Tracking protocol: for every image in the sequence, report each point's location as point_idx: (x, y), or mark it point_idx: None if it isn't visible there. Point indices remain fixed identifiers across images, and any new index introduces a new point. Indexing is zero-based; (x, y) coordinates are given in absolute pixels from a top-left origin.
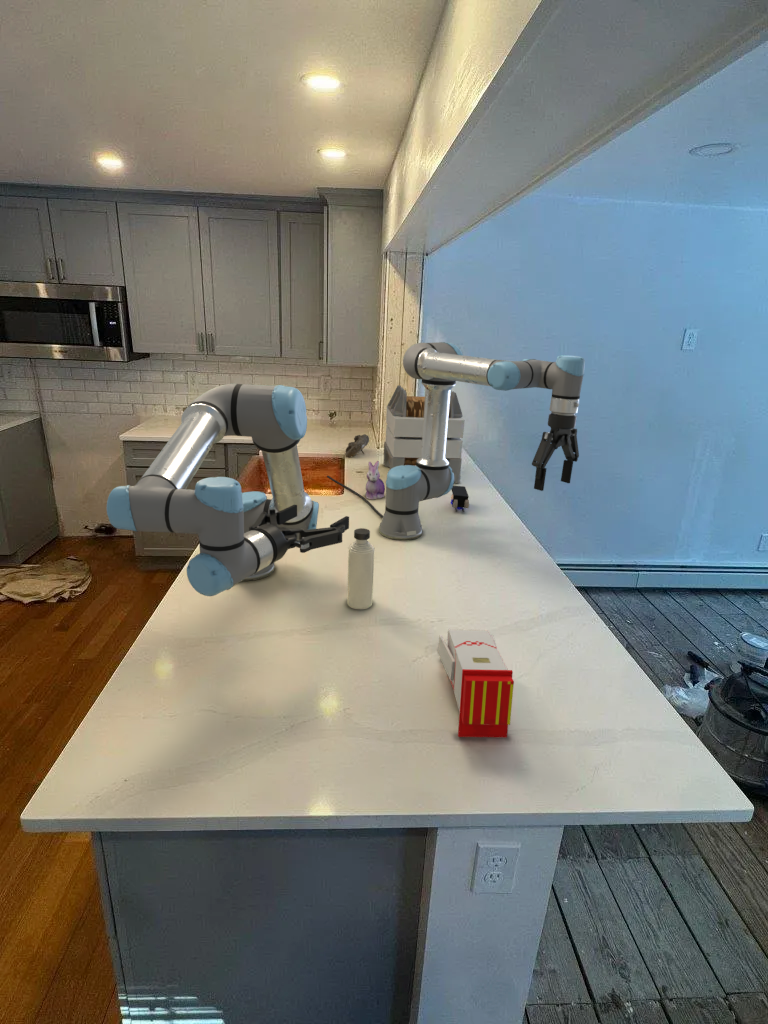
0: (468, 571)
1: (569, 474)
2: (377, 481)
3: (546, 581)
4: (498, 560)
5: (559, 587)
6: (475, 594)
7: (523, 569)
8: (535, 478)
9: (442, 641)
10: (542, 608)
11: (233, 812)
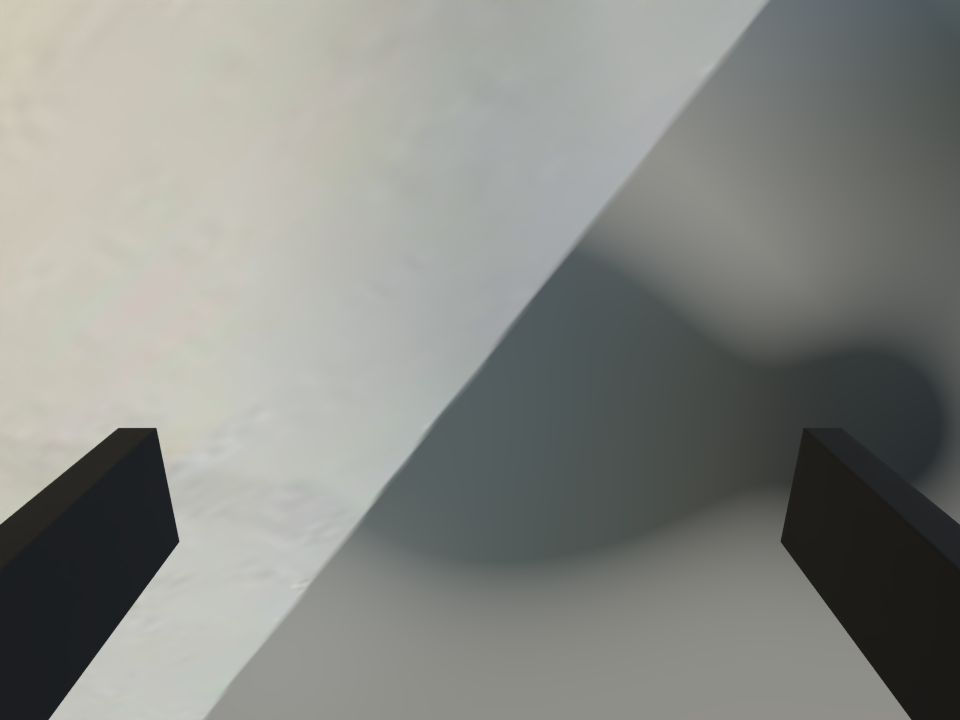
0: (165, 6)
1: (856, 631)
2: None
3: (428, 322)
4: (420, 11)
5: (427, 387)
6: (41, 210)
7: (443, 177)
8: (10, 522)
9: None
10: (221, 443)
11: None
